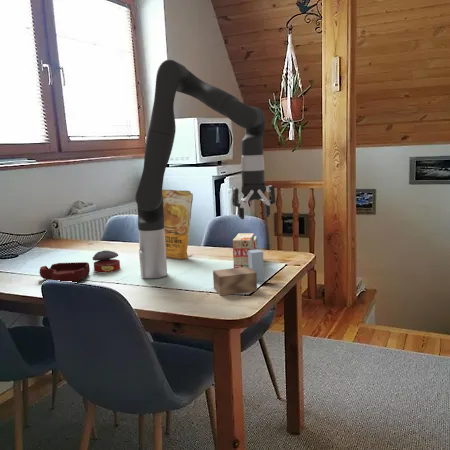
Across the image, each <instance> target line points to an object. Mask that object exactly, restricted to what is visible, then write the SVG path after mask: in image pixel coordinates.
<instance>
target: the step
mask: <svg viewBox="0 0 450 450" xmlns="http://www.w3.org/2000/svg"><path fill="white" fill-rule="evenodd" d="M212 275H213V277H212V278H213V289H214V290H215V291H216V293H218V295H220V296H228V295H235V294H243V293H244V294H245V293H252V292H257V291H258V283H257V282H258V281H257V273H256V272H255V271H254V270H252V269H251V268H250V267H241V268H234V267H233V268H224V269H216V270H215V269H214V270H212Z"/></svg>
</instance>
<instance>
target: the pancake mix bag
mask: <svg viewBox="0 0 450 450" xmlns="http://www.w3.org/2000/svg"><path fill="white" fill-rule="evenodd" d="M162 194H163V208H164V230H165V246H166V259H167V258H168V259H175V260H184V259H189V256H188V245H189V237H190V235H189V234H190V225H191V218H192V207H193V206H192V205H193V200H194V199H193V197H194V195H193V193H192V191H190V190H176V189H162Z"/></svg>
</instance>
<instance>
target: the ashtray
mask: <svg viewBox="0 0 450 450" xmlns="http://www.w3.org/2000/svg"><path fill="white" fill-rule="evenodd" d="M90 268H91V267H90V264H89V262H88V261H87V262H83V261H81V262H56V263H53V264H51V266H50V267H48V266H47V265H44V266H40V269H39V275H40V277H41V278H42V279H44V280H46V281H48V280H47V279H53V280H60V281H72V282H74V283H76V282H79V281H80V280H82V279H84V278H87V277H88V276H89V275H90V271H91V270H90ZM53 280H52V281H53Z"/></svg>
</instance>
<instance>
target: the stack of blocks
mask: <svg viewBox="0 0 450 450" xmlns="http://www.w3.org/2000/svg"><path fill="white" fill-rule="evenodd" d="M249 250H258V237H257V236H256V235H255V233H253V232H252V233H251V232H249V233H247V232H246V233H245V232H244V233H243V232H242V233H237V235H236V236H235V237H234V238H233V239H232V256H233V268H241V267H249V266H248V251H249Z"/></svg>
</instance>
